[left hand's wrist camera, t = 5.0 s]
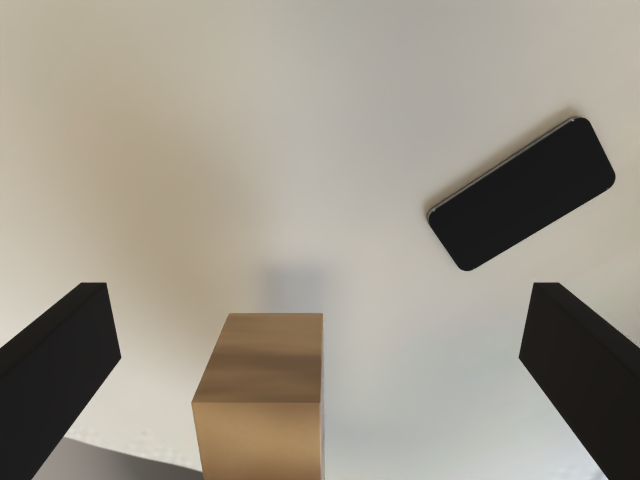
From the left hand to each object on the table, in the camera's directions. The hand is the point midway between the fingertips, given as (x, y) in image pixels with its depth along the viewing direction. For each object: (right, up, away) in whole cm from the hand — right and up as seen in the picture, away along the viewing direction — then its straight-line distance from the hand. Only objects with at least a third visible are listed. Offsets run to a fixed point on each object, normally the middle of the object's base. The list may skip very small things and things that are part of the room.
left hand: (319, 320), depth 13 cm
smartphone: (+17, +6, +24) cm, 30 cm away
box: (-3, -13, +21) cm, 25 cm away
